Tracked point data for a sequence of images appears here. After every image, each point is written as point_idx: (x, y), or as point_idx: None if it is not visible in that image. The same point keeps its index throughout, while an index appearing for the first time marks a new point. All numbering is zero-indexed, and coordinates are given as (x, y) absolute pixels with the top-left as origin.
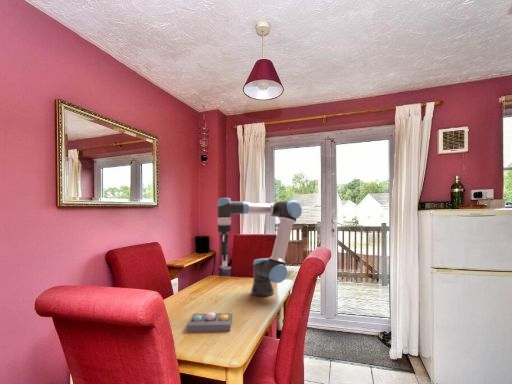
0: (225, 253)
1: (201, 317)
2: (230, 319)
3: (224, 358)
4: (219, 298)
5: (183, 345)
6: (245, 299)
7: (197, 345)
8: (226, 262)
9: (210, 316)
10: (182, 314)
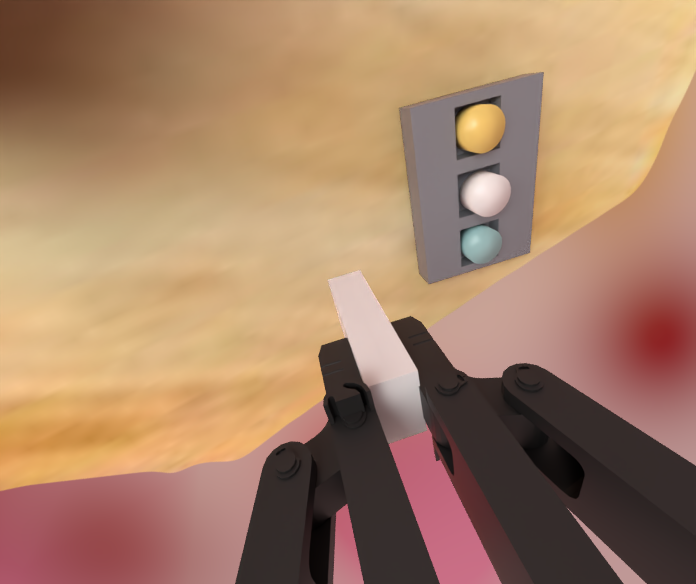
0: (548, 383)
1: (490, 229)
2: (490, 89)
3: None
4: (133, 290)
5: (592, 209)
6: (63, 121)
7: (602, 165)
8: (377, 301)
9: (508, 188)
10: None
